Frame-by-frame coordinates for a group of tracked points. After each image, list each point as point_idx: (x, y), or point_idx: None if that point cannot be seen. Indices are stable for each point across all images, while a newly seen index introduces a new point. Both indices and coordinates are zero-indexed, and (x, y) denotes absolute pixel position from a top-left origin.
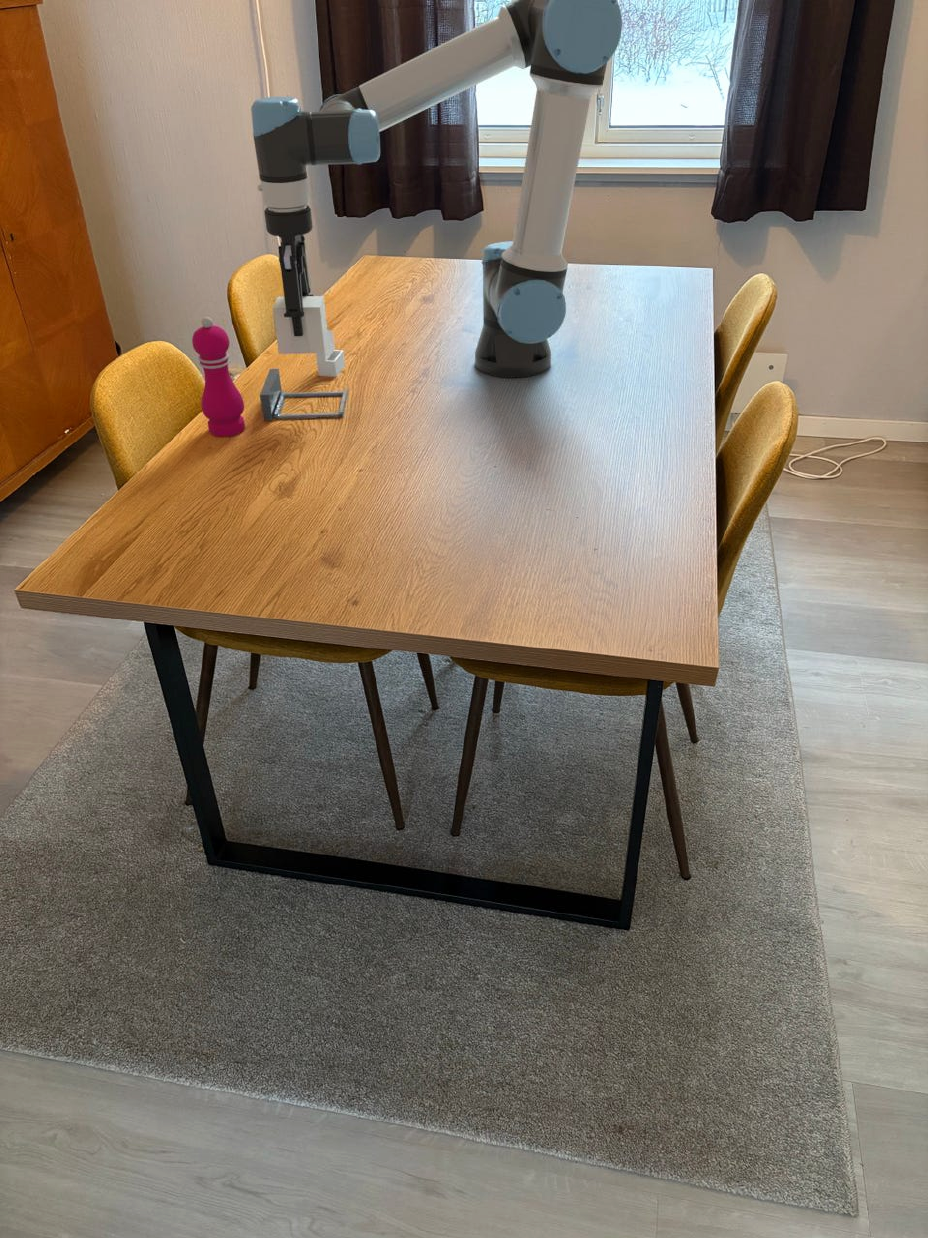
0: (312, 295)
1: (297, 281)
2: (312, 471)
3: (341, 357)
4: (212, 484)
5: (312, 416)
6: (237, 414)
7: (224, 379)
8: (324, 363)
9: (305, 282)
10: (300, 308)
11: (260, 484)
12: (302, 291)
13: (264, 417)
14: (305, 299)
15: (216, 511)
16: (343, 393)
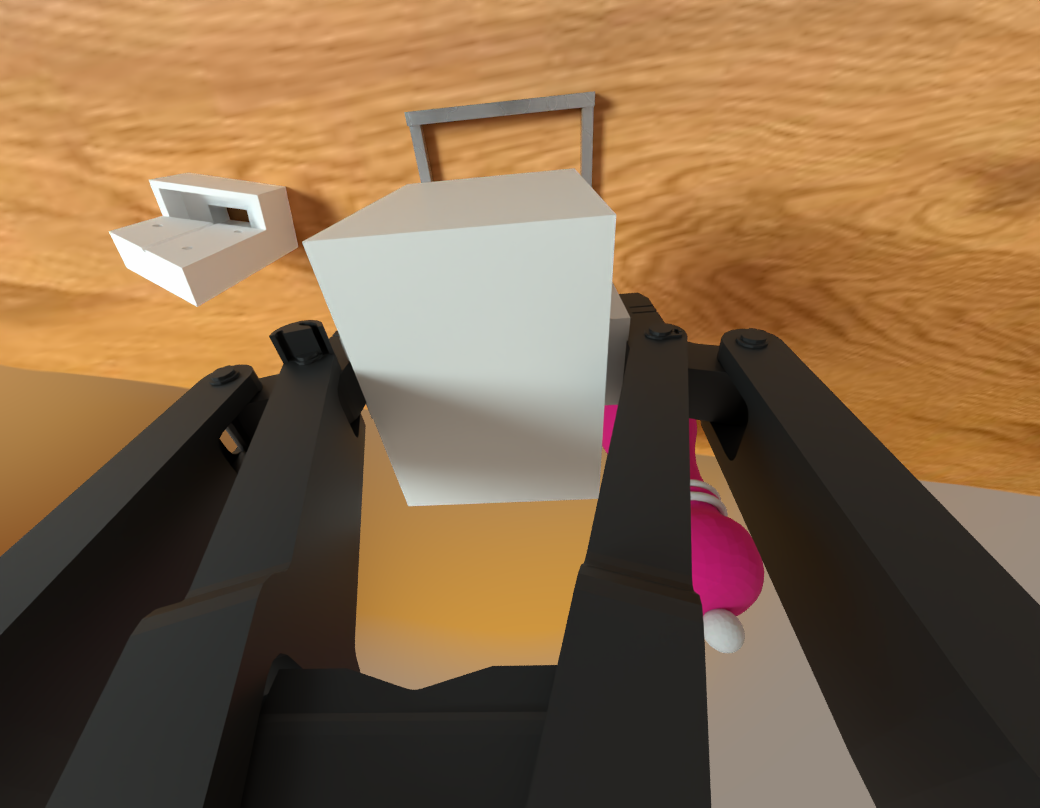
0: (281, 339)
1: (970, 558)
2: (958, 124)
3: (191, 182)
4: (887, 359)
5: None
6: None
7: (691, 459)
8: (272, 233)
9: (319, 435)
10: (783, 358)
11: (950, 261)
12: (343, 413)
13: None
14: (428, 366)
15: (1024, 325)
16: (443, 120)
